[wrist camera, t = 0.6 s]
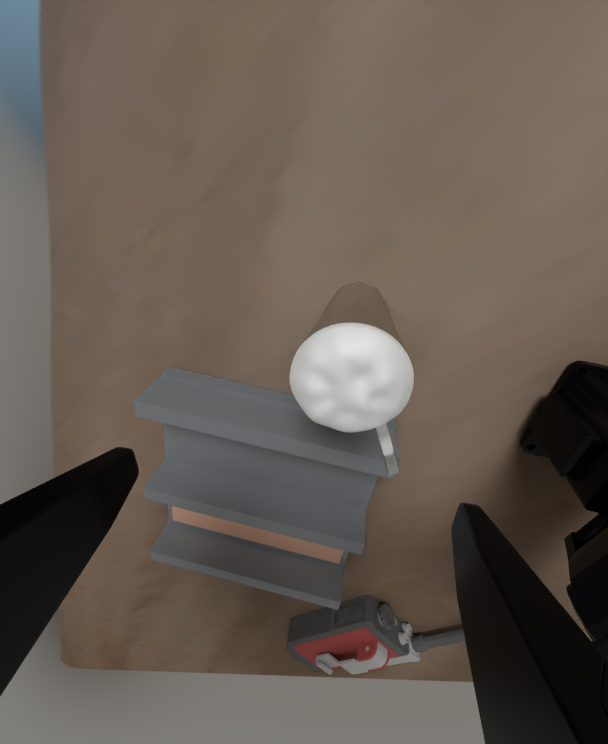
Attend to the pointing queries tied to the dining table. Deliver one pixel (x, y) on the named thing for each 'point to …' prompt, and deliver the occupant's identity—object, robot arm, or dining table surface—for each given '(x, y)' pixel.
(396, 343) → the milkshake
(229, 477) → the grey slotted tray
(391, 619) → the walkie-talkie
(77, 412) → the dining table surface
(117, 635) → the dining table surface
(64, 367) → the dining table surface
